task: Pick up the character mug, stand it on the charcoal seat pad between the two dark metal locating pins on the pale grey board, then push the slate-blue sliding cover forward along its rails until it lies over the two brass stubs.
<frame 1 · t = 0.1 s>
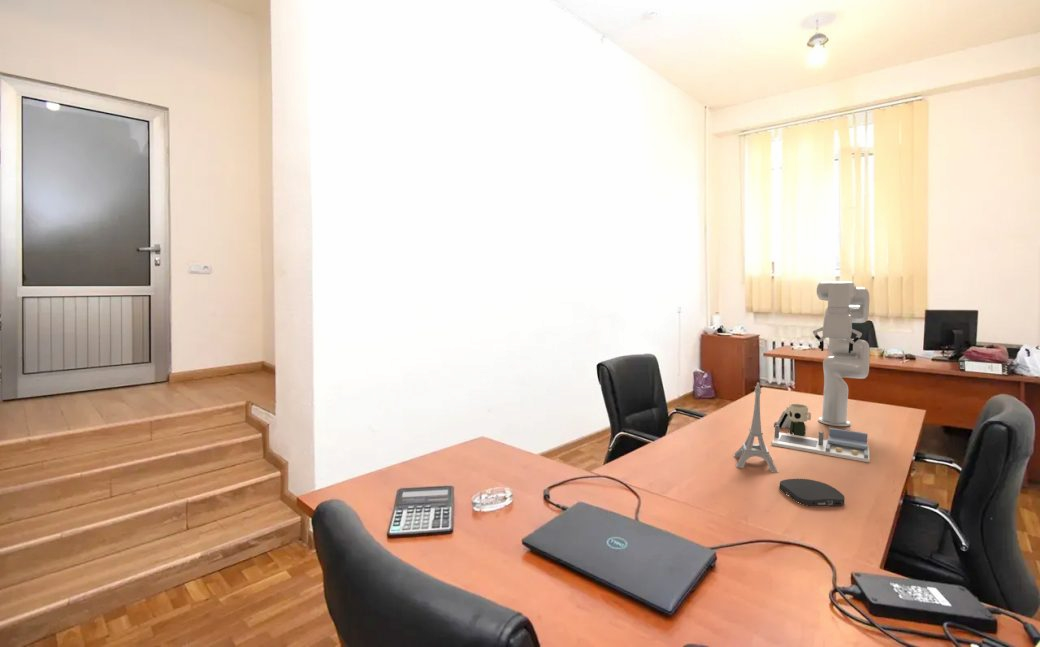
hand: (835, 351, 200), 37 cm above the table, tool pointing down, fingers open, 9 cm apart
character mug: (797, 435, 205), on the table
cover: (847, 438, 187), point 5 cm above the table, slide at 7.0 cm
board: (819, 447, 190), on the table
media streaming box: (810, 497, 147), on the table
eiffel tower: (754, 464, 174), on the table
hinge: (791, 425, 220), on the table
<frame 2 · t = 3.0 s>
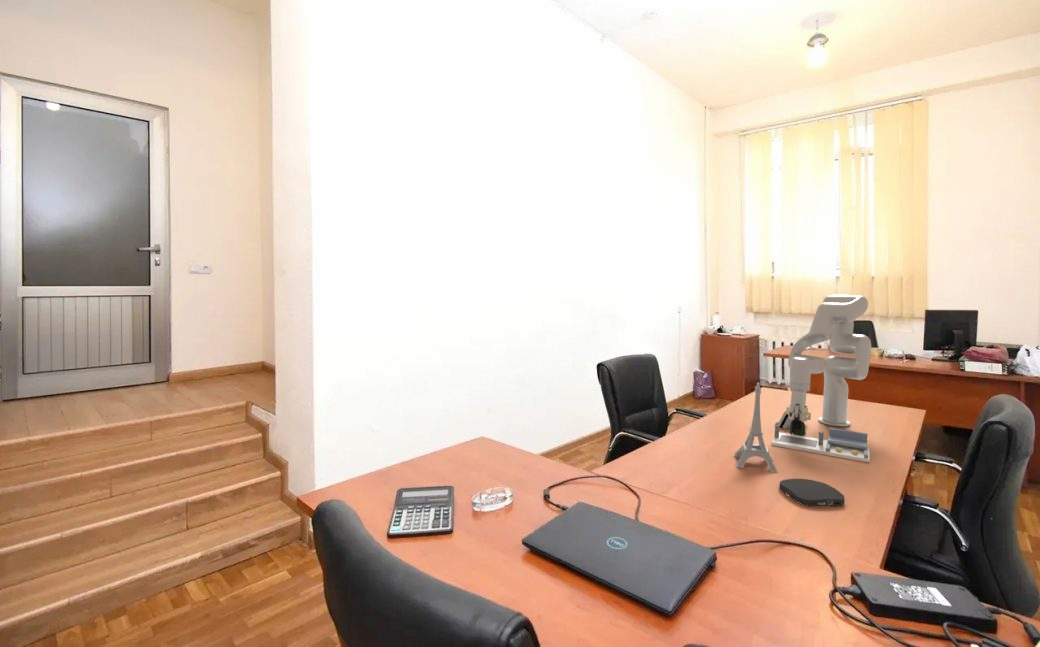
hand: (797, 426, 205), 4 cm above the table, tool pointing down, fingers closed on character mug, 7 cm apart
character mug: (797, 435, 205), on the table, touching gripper
everything else where it was.
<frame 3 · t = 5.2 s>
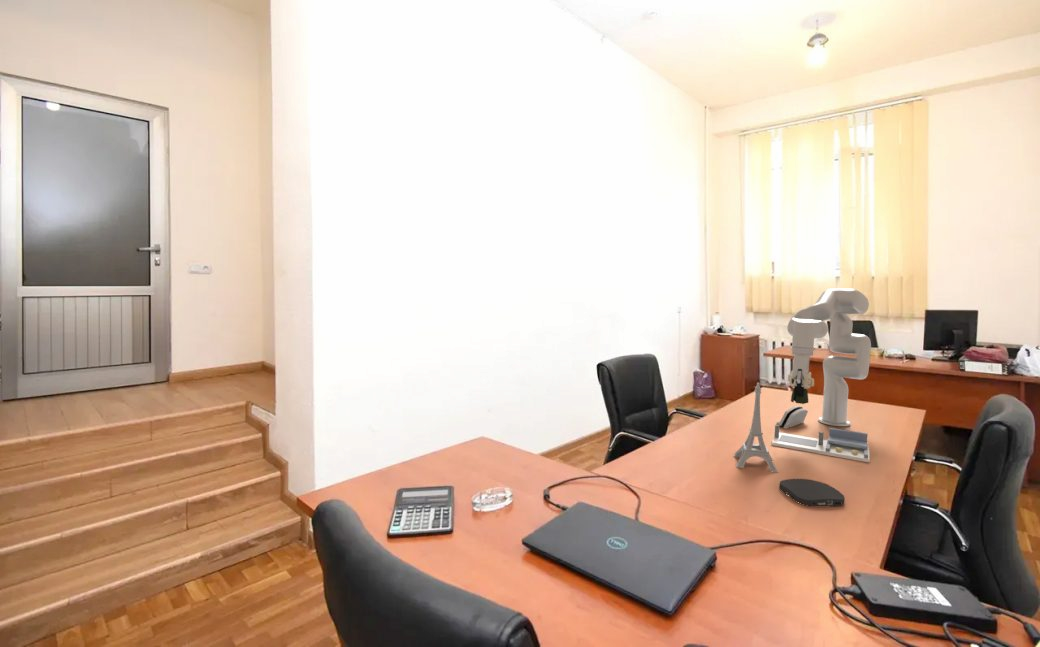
hand: (800, 394, 194), 20 cm above the table, tool pointing down, fingers closed on character mug, 7 cm apart
character mug: (799, 403, 194), point 16 cm above the table, touching gripper
everything else where it was.
when the fingers open (7 cm above the table, at t = 7.3 s): character mug drops 2 cm, resting on board.
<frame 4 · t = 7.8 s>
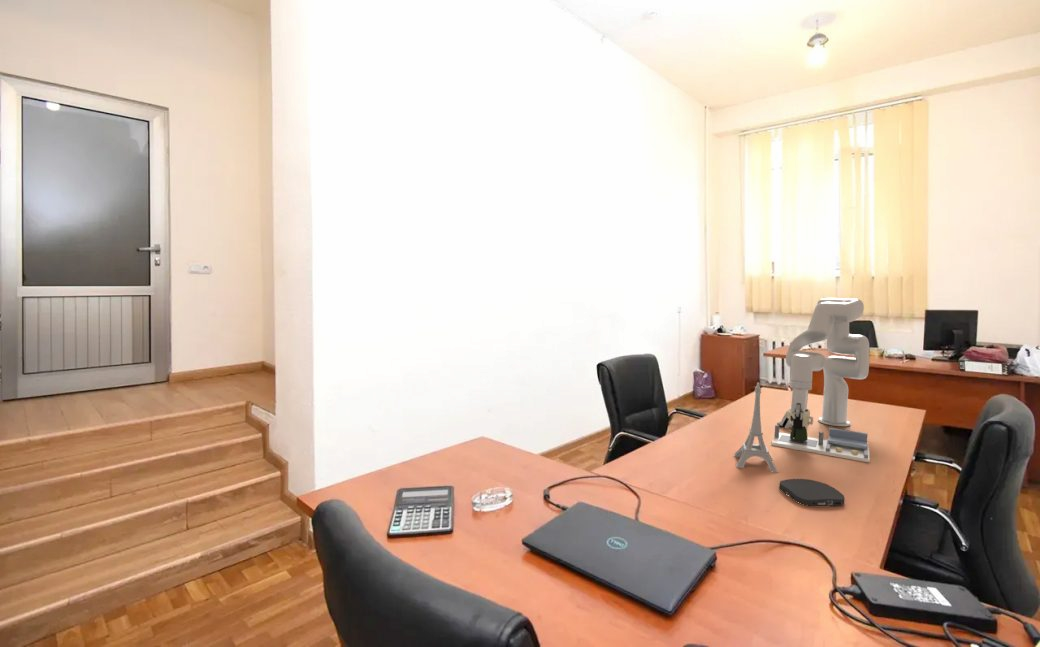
hand: (798, 425, 194), 8 cm above the table, tool pointing down, fingers open, 9 cm apart
character mug: (798, 440, 194), point 1 cm above the table, touching board
everything else where it was.
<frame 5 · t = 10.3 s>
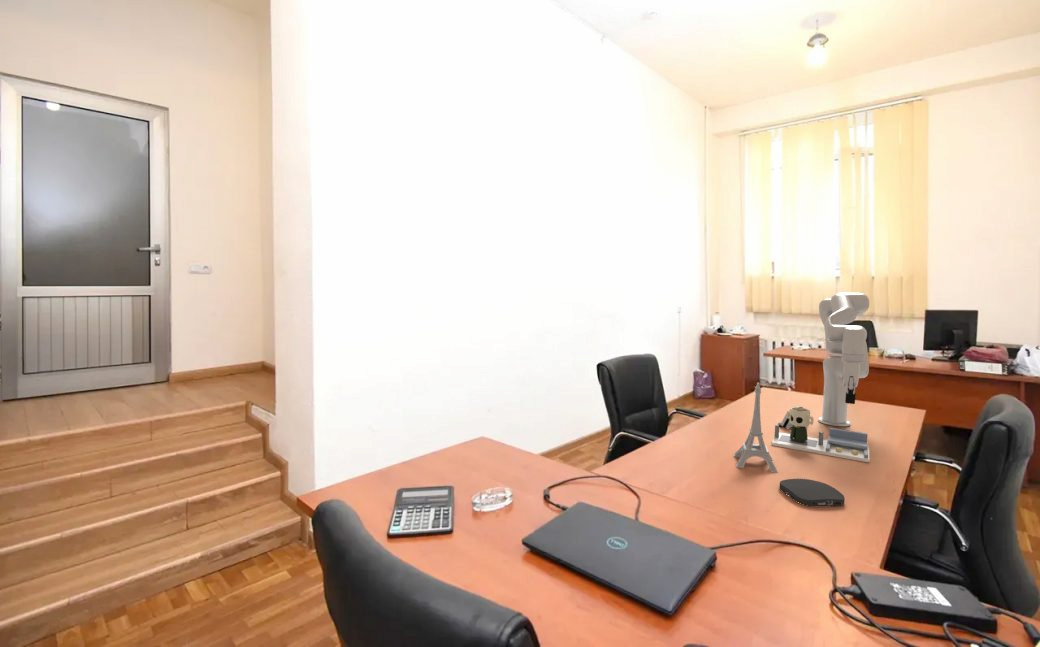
hand: (850, 402, 193), 17 cm above the table, tool pointing down, fingers closed
nothing on the table moved.
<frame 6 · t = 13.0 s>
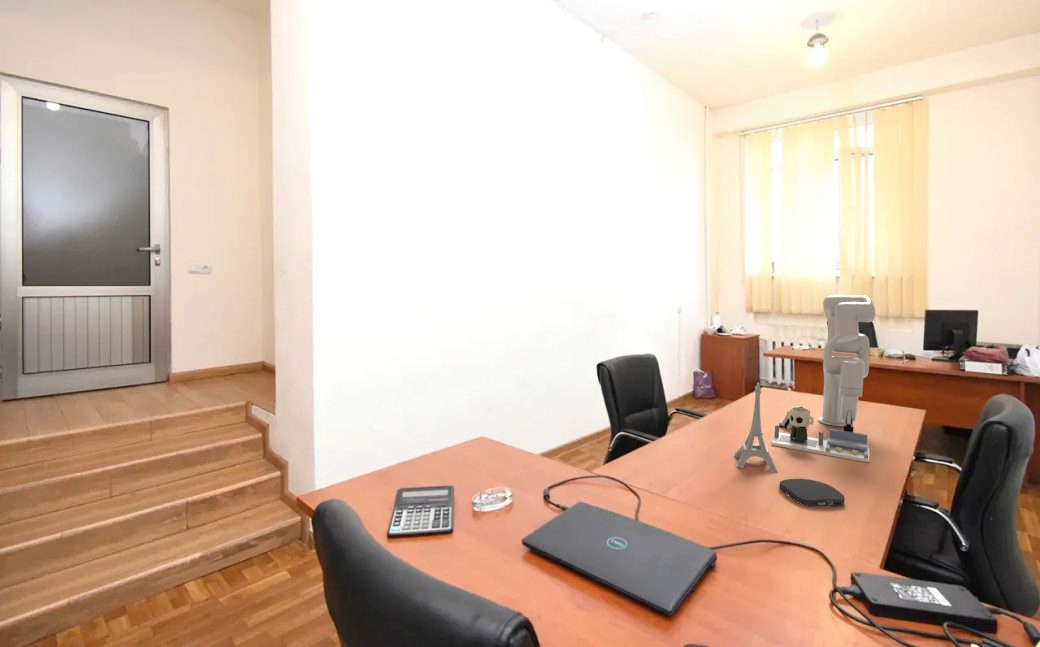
hand: (848, 436, 191), 4 cm above the table, tool pointing down, fingers closed
cover: (847, 439, 186), point 5 cm above the table, slide at 5.5 cm, touching gripper
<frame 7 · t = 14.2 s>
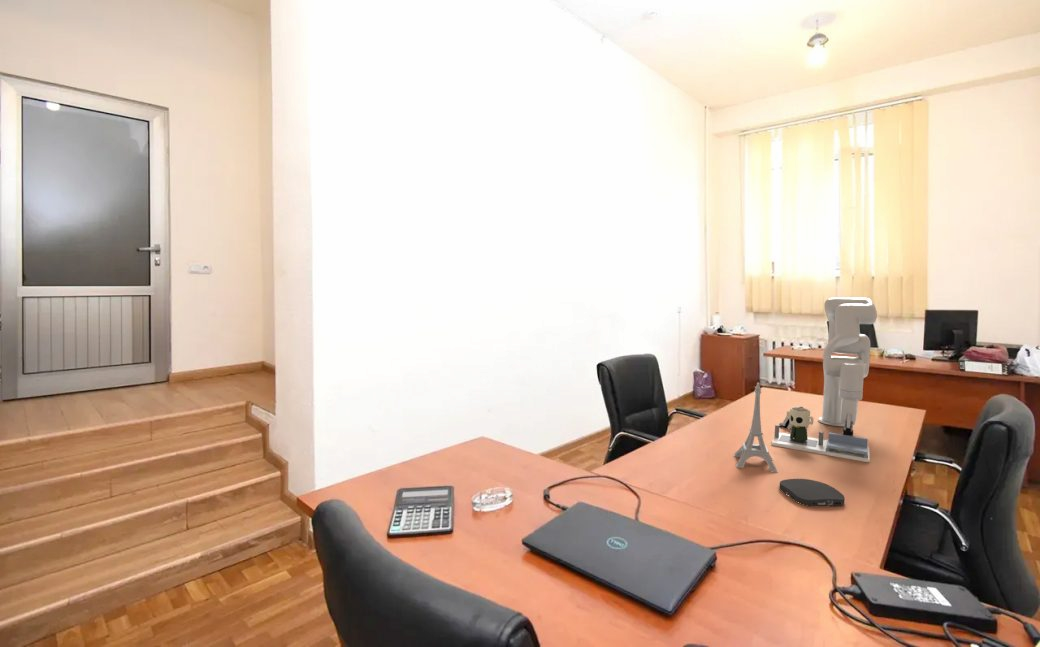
hand: (847, 439, 186), 4 cm above the table, tool pointing down, fingers closed
cover: (847, 443, 181), point 5 cm above the table, slide at -0.2 cm, touching gripper
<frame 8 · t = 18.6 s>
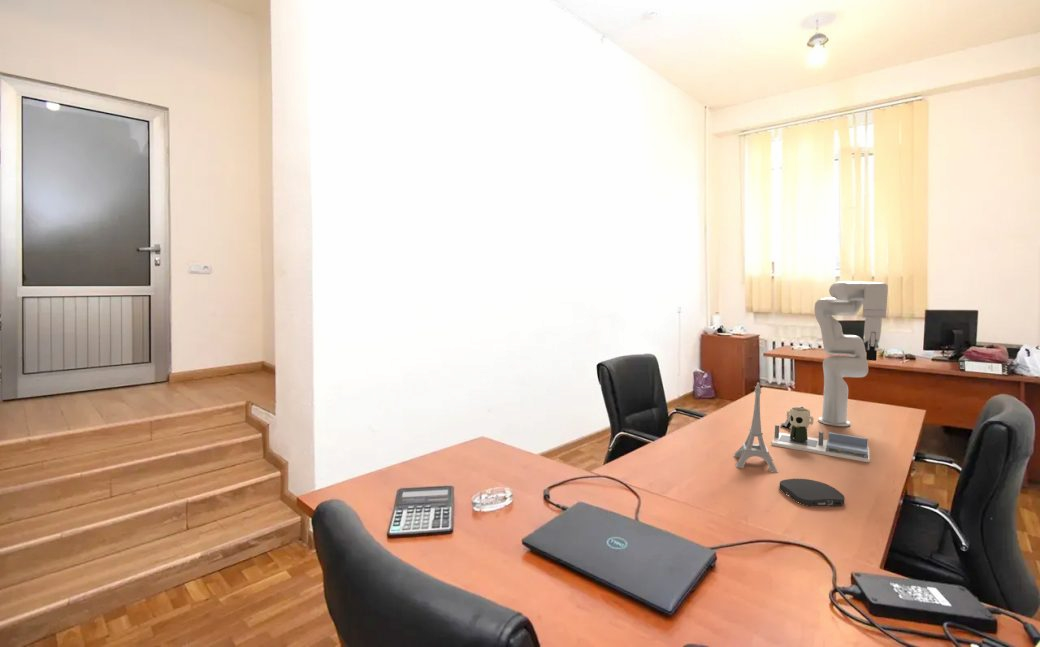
hand: (871, 360, 189), 35 cm above the table, tool pointing down, fingers closed
cover: (847, 442, 181), point 5 cm above the table, slide at 0.0 cm
at the end: character mug inside the target area (0.4 cm from its centre), point 1.1 cm above the table; character mug tilted 0°; cover slide at 0.0 cm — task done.
